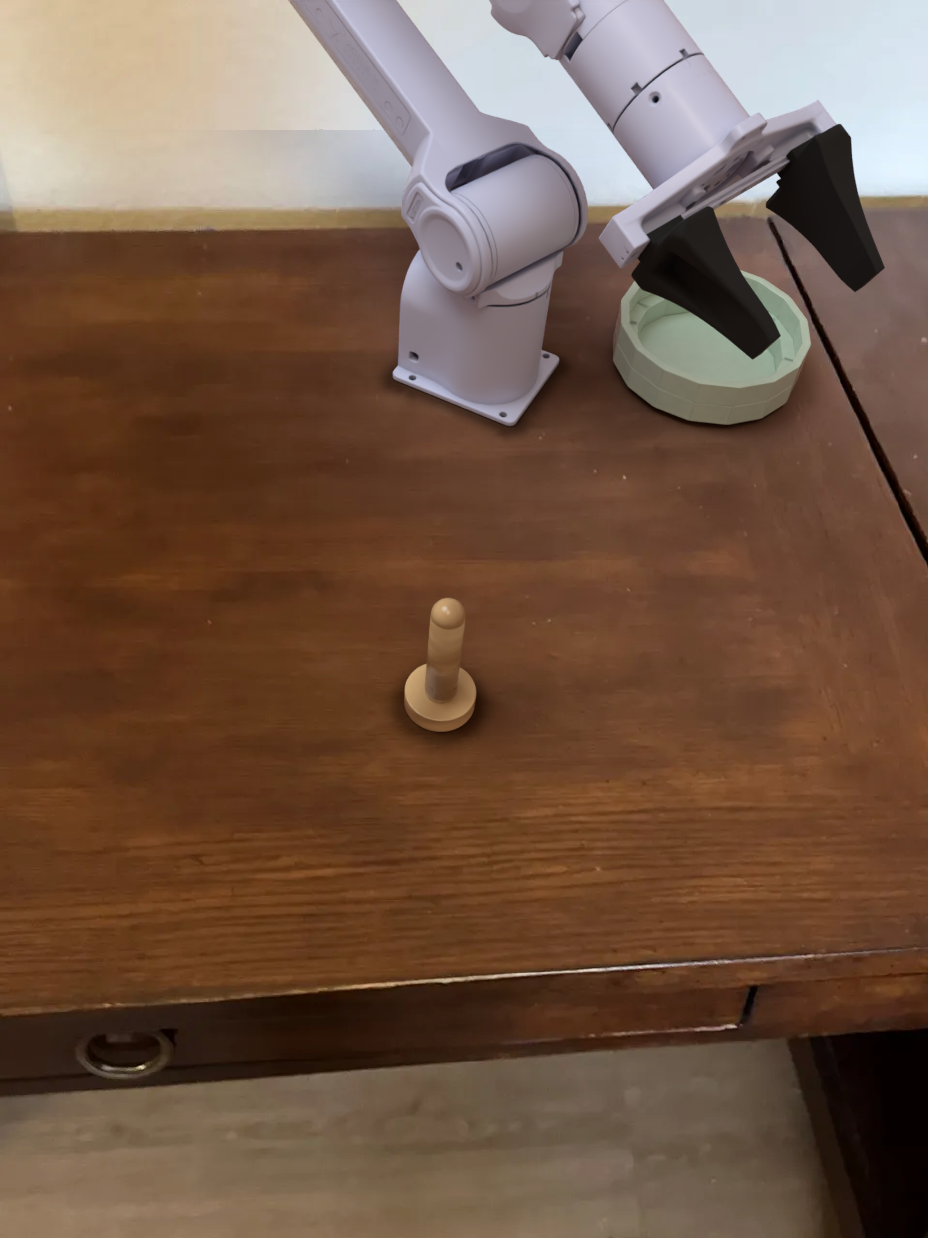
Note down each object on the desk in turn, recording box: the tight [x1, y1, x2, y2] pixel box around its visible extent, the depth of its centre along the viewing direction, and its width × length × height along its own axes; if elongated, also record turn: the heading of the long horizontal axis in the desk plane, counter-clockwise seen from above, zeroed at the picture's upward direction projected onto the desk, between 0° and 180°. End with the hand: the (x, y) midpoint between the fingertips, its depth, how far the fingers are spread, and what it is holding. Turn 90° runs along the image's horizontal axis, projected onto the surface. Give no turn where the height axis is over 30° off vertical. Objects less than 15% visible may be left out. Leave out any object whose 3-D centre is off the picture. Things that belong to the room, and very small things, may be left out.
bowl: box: [612, 269, 812, 426], centre depth 86 cm, size 13×13×4 cm
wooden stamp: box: [403, 597, 477, 733], centre depth 65 cm, size 4×4×9 cm
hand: (819, 313), depth 61 cm, fingers open, 7 cm apart
